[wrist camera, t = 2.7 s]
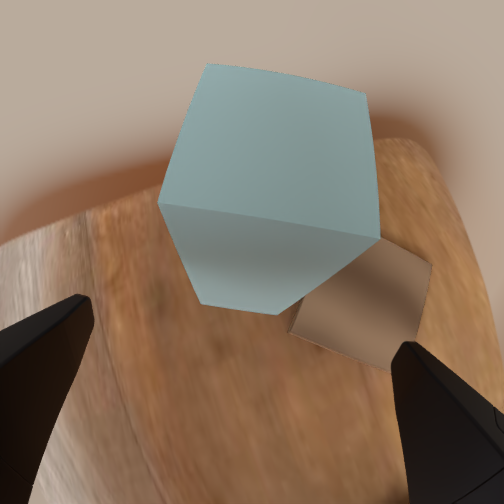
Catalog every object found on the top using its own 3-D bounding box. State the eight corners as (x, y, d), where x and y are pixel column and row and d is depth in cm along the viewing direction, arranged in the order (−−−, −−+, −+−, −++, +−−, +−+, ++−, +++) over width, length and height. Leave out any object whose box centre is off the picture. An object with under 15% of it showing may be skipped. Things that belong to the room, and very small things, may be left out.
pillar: (276, 315, 20) (380, 238, 6) (200, 304, 19) (157, 202, 6) (284, 244, 21) (365, 93, 8) (213, 233, 21) (206, 63, 8)
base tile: (392, 375, 19) (403, 376, 18) (285, 333, 20) (290, 331, 18) (422, 269, 22) (432, 264, 21) (329, 222, 23) (335, 214, 21)
